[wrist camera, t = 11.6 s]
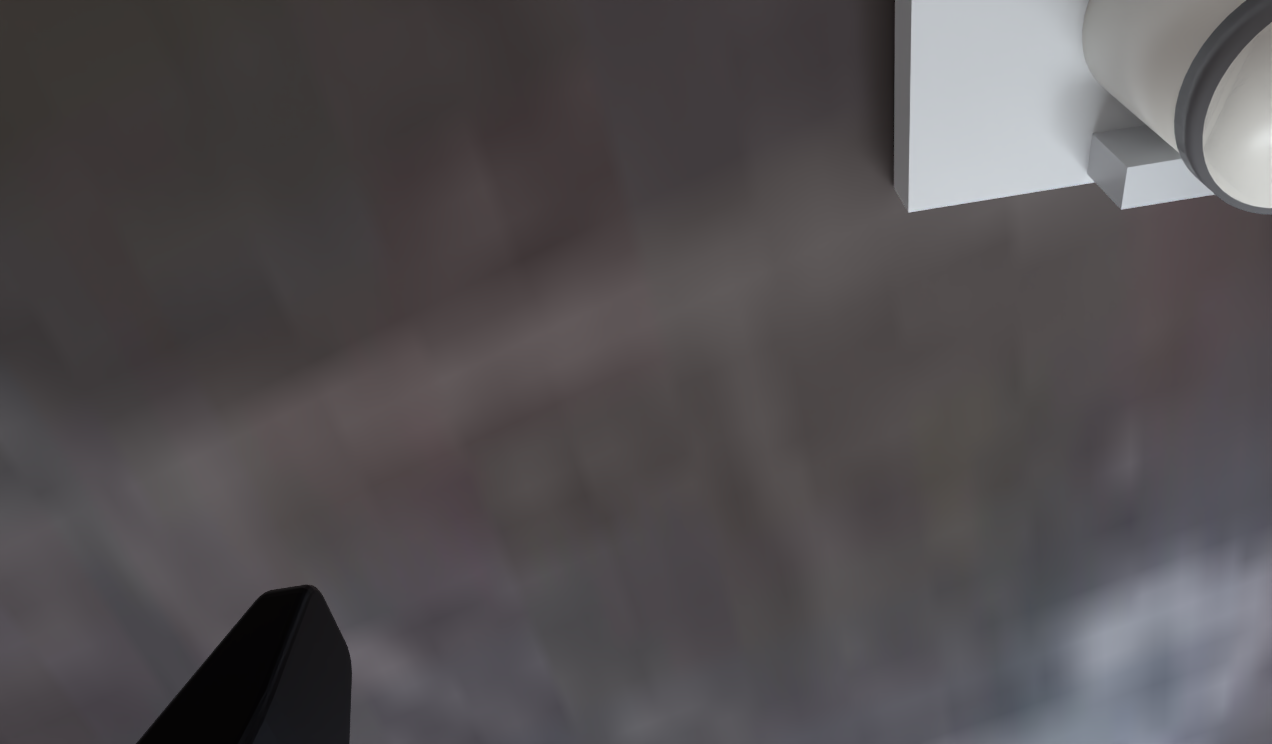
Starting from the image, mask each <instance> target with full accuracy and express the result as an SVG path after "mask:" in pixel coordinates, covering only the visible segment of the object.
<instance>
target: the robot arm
mask: <svg viewBox="0 0 1272 744" xmlns="http://www.w3.org/2000/svg"><path fill="white" fill-rule="evenodd" d="M351 684H352V668H351V659H350V654H349V650H348V647H347V645H346V642H345V640H344V638H343V636H342V634H341V632H340V630H339V628H338V626H337V624H336V622H335V620H334V618H333V616H332V614H331V612H330V609H329V607H328V605H327V603H326V601H325V599H324V597H323V595H322V594H321V592H320V591H319V590H318V589H317V588H316V587H314V586H312V585H301V586H294V587H288V588H282V589H275V590H270V591H267V592H265V593H264V594H262V595H261V596H260V597H259V598H258V599H257V600H256V601H255V602H254V603H253V604H252V606H251V607H250V608H249V609H248V610H247V612H246V613H245V614H244V615H243V616H242V618H241V619H240V620H239V621H238V622H237V624H236V625H235V626H234V627H233V628H232V629H231V631H230V632H229V633H228V634H227V635H226V637H225V638H224V639H223V640H222V641H221V643H220V644H219V645H218V646H217V647H216V649H215V650H214V651H213V652H212V653H211V655H210V656H209V657H208V658H207V659H206V661H205V662H204V663H203V664H202V665H201V667H200V668H199V669H198V670H197V671H196V673H195V674H194V675H193V676H192V677H191V679H190V680H189V681H188V682H187V683H186V684H185V686H184V687H183V688H182V689H181V690H180V692H179V693H178V694H177V695H176V696H175V698H174V699H173V700H172V701H171V702H170V704H169V705H168V706H167V707H166V708H165V710H164V711H163V712H162V713H161V714H160V716H159V717H158V718H157V719H156V720H155V722H154V723H153V724H152V725H151V726H150V728H149V729H148V730H147V731H146V732H145V734H144V735H143V736H142V737H141V738H140V740H139V741H138V742H137V743H136V744H349V739H350V711H351Z"/></svg>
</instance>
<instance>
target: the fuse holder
mask: <svg viewBox="0 0 1272 744" xmlns="http://www.w3.org/2000/svg"><path fill="white" fill-rule="evenodd" d="M1093 182H1095V183H1096V184H1097V185H1098V186H1099V187H1100V188H1101V189H1102V190H1103V191H1104V192H1105V193H1106V194H1107V195H1108V196H1109V197H1110V198H1111V200H1112V201H1113V202H1114V203H1115V204H1116V205H1117V206H1118V207H1119V208H1120V209H1127V208H1134V207H1140V206H1146V205H1152V204H1158V203H1165V202H1171V201H1177V200H1183V199H1189V198H1196V197H1202V196H1208V195H1214V194H1215V195H1216V196H1218V197H1219V198H1220V199H1222V200H1223V201H1224V202H1226V203H1228V204H1230V205H1232V206H1234V207H1236V208H1238V209H1241V210H1244V211H1248V212H1252V213H1259V214H1272V0H895V80H894V189H895V191H896V193H897V194H898V196H899V198H900V199H901V201H902V203H903V204H904V206H905V208H906V209H907V211H908V212H914V211H920V210H927V209H933V208H939V207H945V206H951V205H957V204H964V203H970V202H976V201H982V200H988V199H995V198H1001V197H1007V196H1013V195H1019V194H1025V193H1032V192H1038V191H1044V190H1050V189H1056V188H1063V187H1069V186H1075V185H1081V184H1087V183H1093Z"/></svg>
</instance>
